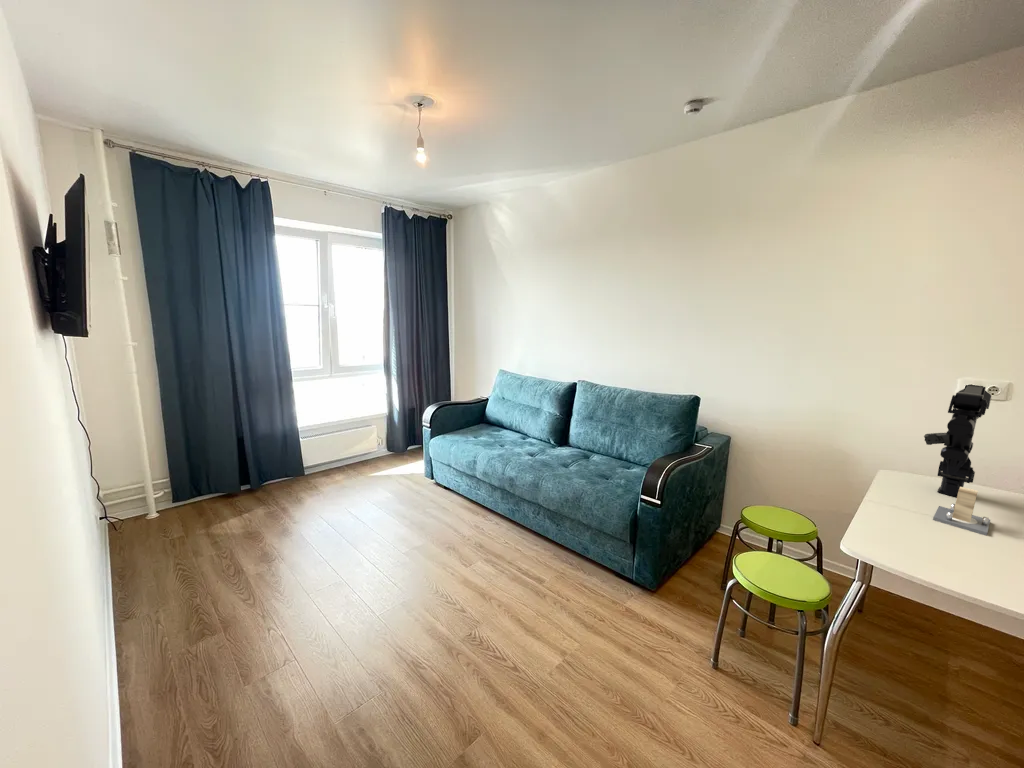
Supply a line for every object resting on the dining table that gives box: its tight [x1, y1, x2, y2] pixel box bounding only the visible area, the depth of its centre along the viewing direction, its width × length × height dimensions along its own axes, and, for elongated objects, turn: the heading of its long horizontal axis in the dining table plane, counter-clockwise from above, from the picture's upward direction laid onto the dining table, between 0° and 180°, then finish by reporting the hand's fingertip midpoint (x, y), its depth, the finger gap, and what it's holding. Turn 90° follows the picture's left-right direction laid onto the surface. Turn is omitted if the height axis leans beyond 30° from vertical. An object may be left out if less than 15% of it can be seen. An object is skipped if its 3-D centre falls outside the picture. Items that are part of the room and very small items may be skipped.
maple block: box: [952, 486, 979, 523], centre depth 135 cm, size 4×4×10 cm
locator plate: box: [932, 503, 991, 536], centre depth 136 cm, size 12×12×4 cm
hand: (952, 471), depth 144 cm, fingers open, 9 cm apart
